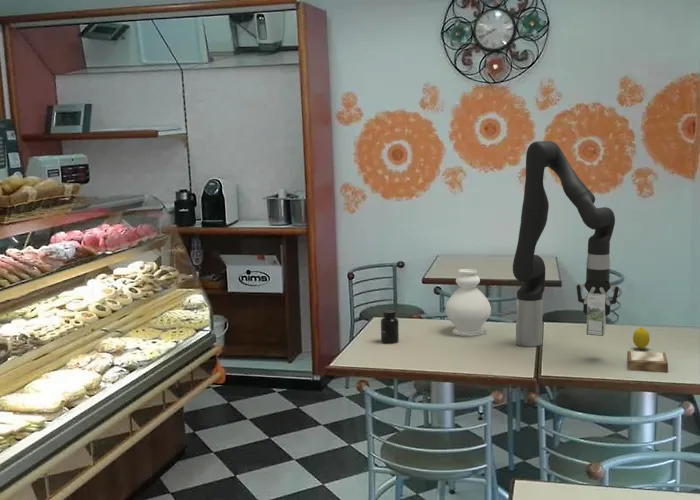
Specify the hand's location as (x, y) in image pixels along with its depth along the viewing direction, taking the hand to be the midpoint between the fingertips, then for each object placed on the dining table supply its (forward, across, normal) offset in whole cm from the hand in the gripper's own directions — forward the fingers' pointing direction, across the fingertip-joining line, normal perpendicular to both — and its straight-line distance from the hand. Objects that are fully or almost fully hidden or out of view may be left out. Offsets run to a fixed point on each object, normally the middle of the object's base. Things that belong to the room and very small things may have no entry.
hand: (596, 314), depth 263 cm
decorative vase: (+17, -49, +29) cm, 59 cm away
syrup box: (+7, 0, 0) cm, 7 cm away
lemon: (+16, +15, +16) cm, 27 cm away
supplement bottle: (+17, -76, +9) cm, 78 cm away
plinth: (+15, +16, -4) cm, 23 cm away
